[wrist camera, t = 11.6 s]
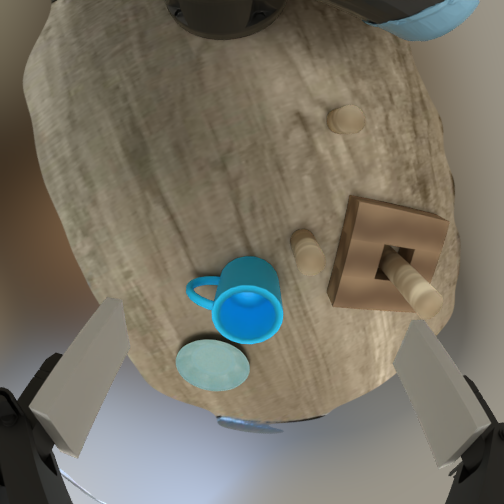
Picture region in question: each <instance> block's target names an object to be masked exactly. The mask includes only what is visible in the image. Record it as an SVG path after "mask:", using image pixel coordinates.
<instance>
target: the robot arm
mask: <svg viewBox="0 0 504 504" xmlns="http://www.w3.org/2000/svg"><path fill="white" fill-rule="evenodd" d="M165 1H166V5H167V8H168V10H169V12H170V14H171V15H172V17H173V18H174V19H175V21H176V22H177V23H178V24H179V25H180V26H181V27H182V28H184V29H185V30H187V31H188V32H190V33H192V34H195V35H197V36H200V37H204V38H209V39H220V40H224V39H235V38H241V37H245V36H248V35H251V34H254V33H256V32H258V31H260V30H262V29H264V28H265V27H267V26H268V25H270V24H271V23H272V22H273V21H274V20H276V18H277V17H278V16H279V15H280V14H281V12H282V11H283V9H284V6H285V4H286V0H165ZM316 1H319V2H322V3H324V4H327V5H329V6H332V7H334V8H337V9H339V10H342V11H344V12H346V13H348V14H351V15H353V16H355V17H357V18H359V19H361V20H362V21H363V22H364V23H366V24H368V25H370V26H374V27H379V28H381V29H384V30H386V31H388V32H390V33H392V34H394V35H396V36H398V37H399V38H402V39H405V40H408V41H428V40H432V39H435V38H438V37H441V36H443V35H445V34H447V33H448V32H450V31H451V30H453V29H455V28H456V27H457V26H459V25H460V24H461V23H463V22H464V21H465V20H466V19H467V18H468V17H469V16H470V15H471V14H472V13H473V11H474V10H475V9H476V7H477V6H478V4H479V0H316ZM129 349H130V343H129V337H128V332H127V327H126V321H125V315H124V309H123V303H122V299H117V298H110V297H107V298H106V299H105V300H104V301H103V303H102V304H101V305H100V307H99V308H98V309H97V310H96V312H95V313H94V314H93V315H92V317H91V318H90V319H89V321H88V322H87V323H86V325H85V326H84V327H83V329H82V330H81V331H80V333H79V334H78V335H77V337H76V338H75V340H74V341H73V342H72V343H71V345H70V346H69V348H68V349H67V350H66V352H65V353H64V355H62V354H59V353H55V354H53V355H52V356H50V357H49V358H47V359H46V360H45V362H44V363H43V364H42V366H41V367H40V370H38V371H37V373H36V374H35V375H34V376H35V377H33V378H32V380H31V381H30V383H29V384H28V386H27V387H26V388H25V390H24V391H23V393H22V394H21V396H20V397H19V399H18V400H16V399H15V397H14V395H13V394H12V393H11V392H10V391H9V390H8V389H6V388H2V387H1V388H0V504H73V503H72V501H71V498H70V496H69V494H68V491H67V489H66V486H65V484H64V481H63V479H62V476H61V473H60V470H59V468H58V465H57V462H56V459H55V456H54V454H53V452H52V448H53V446H54V444H55V445H56V446H57V448H58V449H59V450H60V452H63V453H65V454H68V455H70V456H72V457H75V458H78V457H79V454H80V452H81V450H82V448H83V445H84V443H85V441H86V438H87V436H88V434H89V431H90V429H91V427H92V425H93V423H94V421H95V418H96V416H97V414H98V412H99V410H100V408H101V405H102V403H103V401H104V399H105V397H106V395H107V393H108V391H109V389H110V387H111V385H112V382H113V380H114V378H115V376H116V374H117V372H118V370H119V368H120V366H121V364H122V362H123V360H124V358H125V357H126V355H127V353H128V351H129ZM393 365H394V367H395V369H396V372H397V374H398V376H399V378H400V380H401V382H402V384H403V386H404V388H405V391H406V393H407V395H408V397H409V399H410V402H411V404H412V406H413V408H414V411H415V413H416V415H417V418H418V420H419V422H420V424H421V427H422V429H423V432H424V434H425V436H426V439H427V441H428V444H429V446H430V449H431V451H432V454H433V456H434V459H435V462H436V464H437V467H438V469H439V468H442V467H445V466H448V465H451V464H453V463H454V462H455V461H456V460H457V459H458V458H459V457H460V456H461V458H462V460H463V461H462V462H461V463H460V464H459V465H457V467H455V468H454V469H453V470H452V471H451V472H450V474H449V476H451V475H452V474H453V473H455V472H456V471H457V472H456V475H455V476H454V481H453V484H452V487H451V490H450V492H449V495H448V498H447V500H446V503H445V504H504V423H498V422H497V420H496V418H495V417H494V415H493V413H492V411H491V410H490V408H489V406H488V405H487V403H486V401H485V400H484V399H483V397H482V395H481V394H480V392H479V390H478V389H477V387H476V386H475V384H474V382H473V381H471V380H470V379H469V378H468V377H467V376H466V375H464V376H463V375H462V374H461V372H460V371H459V369H458V368H457V366H456V365H455V363H454V362H453V360H452V359H451V357H450V356H449V354H448V353H447V351H446V350H445V349H444V347H443V346H442V344H441V343H440V342H439V340H438V339H437V337H436V336H435V334H434V333H433V332H432V330H431V329H430V327H429V326H428V325H427V323H426V322H425V321H424V320H411V323H410V325H409V328H408V330H407V332H406V335H405V337H404V339H403V342H402V344H401V346H400V349H399V351H398V353H397V355H396V357H395V360H394V362H393Z"/></svg>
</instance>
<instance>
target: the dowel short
mask: <svg viewBox="0 0 504 504" xmlns="http://www.w3.org/2000/svg"><path fill="white" fill-rule="evenodd" d="M327 125H328V127H329V128H330V130H331V131H333V132H334V133H337V134H353V133H358V132H360V131H361V130H362V129H363V127H364V125H365V116H364V113H363V112H362V110H361V109H360V108H358V107H357V106H354V105H346V106H343V107H340V108H337V109H334V110H332V111H331V112H330V113H329V114H328V116H327Z"/></svg>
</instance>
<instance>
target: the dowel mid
mask: <svg viewBox="0 0 504 504" xmlns="http://www.w3.org/2000/svg"><path fill="white" fill-rule="evenodd" d="M290 243H291V247H292V250H293V253H294V257H295V260H296V263H297V267H298V269H299V271H300V272H301V273H303V274H304V275H308V276H313V275H316V274H318V273H320V272H321V271H322V270H323V269H324V267H325V264H326V258H325V256H324V254H323V252H322V250H321V248H320V246H319V245H318V243H317V241H316V239H315V237H314V235H313V234H312V233H311V232H310V231H309V230H306V229H300V230H297V231H296V232H294V233H293V235H292V236H291V239H290Z"/></svg>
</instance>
